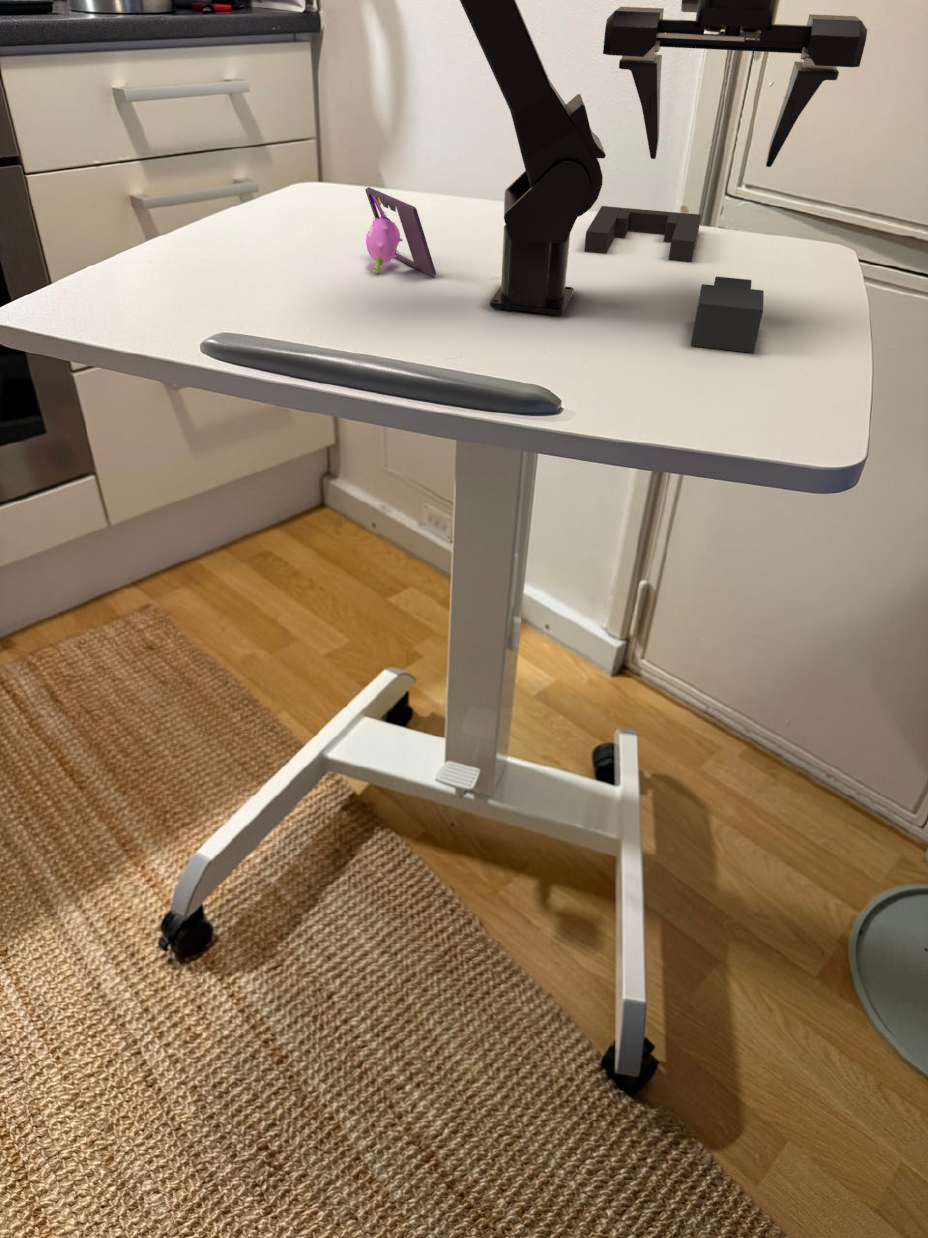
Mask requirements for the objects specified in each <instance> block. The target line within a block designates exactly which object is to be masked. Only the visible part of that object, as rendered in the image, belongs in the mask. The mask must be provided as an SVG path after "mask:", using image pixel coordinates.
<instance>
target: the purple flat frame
mask: <svg viewBox="0 0 928 1238" xmlns="http://www.w3.org/2000/svg"><path fill="white" fill-rule="evenodd" d="M364 190H365V194H366V197H367V199H368V203H369V205H370V208H371V211H372V215H373V218H371V219H372V224H371V226H370V227H369V228H368V230H367V233H366V237H365V246H366V250H367V253H368V254H369V256H370V258H371V259H373V260H374V261H376V262H375V265H374V266H373V268H374V270H373V272H374V273H375V274H379V272H380V270H381V267H382V265H383V264H387V263H389V262H390V261H392V260H393V259H397V260H399V261H401V262H403V263H405V264H406V265H408V266H411V267H412V268H414V269H416V270H418V271H420V272H421V273H424V274H426V275H428V276H430V277H432V278H434V277H436V276H437V271H436V268H435V265H434V261H433V257H432V255H431V252H430V248H429V245H428V242H427V238H426V236H425V232H424V229H423V226H422V222H421V219H420V215H419V212H418V210H417V208H416V207H415V206H413V205H411V204H409V203H407V202H404V201H403V200H400V199H397V198H395V197H393V196H391V195H388V194H386V193H384V192H381V191H380V190H377V189H374V188H372V187H370V186H368V187H367V188H365V189H364ZM381 205H382V206H381ZM383 208H386V209H390V211H392V212H397V214H398V217H399V221H400V223H401V227H402V230H403V233H404V236H405V239H406V242H407V246H408V248H409V251H410V254H411V258H412V260H411V259H409V258H407V257H405V256H403V255H401V254H400V253H399V251H398V250H397V249H398V246H399V243H401V242H404V240H403V239H402V238H401V232H400V229H399V228H398V225H396V223H395V222H393V221H392V220H391V219H390V218H389V217H388V216H387V214H386V212H385V210H383Z"/></svg>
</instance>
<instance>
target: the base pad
mask: <svg viewBox="0 0 928 1238" xmlns="http://www.w3.org/2000/svg"><path fill="white" fill-rule="evenodd" d="M701 219H702V214H699V213H687V212H675V211H665V210H654V209H653V210H652V209H640V208H630V207H619V206H608V205H601V206H600V208H599V209H598V211H597V213H596V214H595V216H594V218H593V220H592V221H591V223H590V225H589V226H588V228H587V230H586V231H585V238H584V239H585V241H584V249H583V250H584V252H590V253H599V254H607V253H608V250H609V248H610V246H611V244H612V242H613V240H614V238H619V239H620V238H621V239H625V238H626V235H627V234H628V232H635V233H637V232H639V233H648V234H658V235H663V242H664V243H670V248H669V255H668V260H670V261H679V262H692V260H693V256H694V252H695V249H696V245H697V244H696V243H697V239H698V235H699V231H700V225H701Z"/></svg>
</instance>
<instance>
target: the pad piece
mask: <svg viewBox="0 0 928 1238" xmlns="http://www.w3.org/2000/svg"><path fill="white" fill-rule="evenodd" d="M714 277H715V278H714V283H713V284H707V283H706V284H705V283H702V284H701V286H700V292H699V296H698V302H697V306H696V307H697V308H696V313H695V319H694V324H693V330H692V334H691V340H690V347H698V348H707V349H715V350H722V351H723V350H724V351H732V352H740V353H741V352H742V353H751V354H753V353H755V348H756V344H757V340H758V336H759V331H760V326H761V322H762V317H763V313H764V294H765V293H764V290H762V289H754V288H752V279H747V278H735V277H726V276H714Z"/></svg>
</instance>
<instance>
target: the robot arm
mask: <svg viewBox="0 0 928 1238" xmlns="http://www.w3.org/2000/svg"><path fill="white" fill-rule="evenodd" d="M459 2H460V4H461V6H462V9H463V10H464V11H463V12H464V13H465V15H466V17H467V19H468V21H469V24H470V26H471V28H472V30H473V32H474V35H475V37H476V39H477V42H478V44H479V46H480V48H481V50H482V53H483V55H484V57H485V59H486V61H487V63H488V66H489V68H490V70H491V72H492V74H493V77H494V78H495V80H496V83H497V86H498V88H499V89H500V92H501V94H502V96H503V98H504V100H505V103H506V105H507V107H508V109H509V112H510V115H511V119H512V122H513V127H514V130H515V134H516V138H517V143H518V146H519V150H520V155H521V158H522V161H523V162H522V163H523V166H524V171H523V172H522V174H520V175H519V176H518V177H517V178H516V179H515V180H514V181H513V182H511V184H510V185H509V186H507V188H506V189H505V190H504V199H503V200H504V202H503V221H504V226H503V236H502V237H503V238H502V259H501V279H500V281H501V282H500V283H501V284H500V287H499V288H498V289H497V291H496V292H495V293H494V294H493V296H492V297H491V298H490V299H489V307H490V308H495V309H503V310H504V309H505V310H512V311H513V310H514V311H522V312H531V313H539V314H547V315H562V314H563V313H564V312H565V310H566V308H567V306H568V304H569V302H570V300H571V299H572V297H573V295H574V289H575V288H574V287H572V286H567V285H566V284H567V272H568V262H569V261H568V260H569V249H570V238H571V232H572V230H573V228H574V225H575V223H576V221H577V219H578V217H581V216H583V215H584V214H585V213H587V212H588V211H589V210H591V208H592V207H593V206H594V205H595V203H596V202H597V200H598V198H599V196H600V193H601V190H602V187H603V183H604V181H603V176H604V175H603V172H602V168H601V164H600V161H599V159H603V160H604V159H605V158H606V157H607V155H606V152H605V149H604V147H603V144H602V141H601V139H600V138H599V137H598V135H597V134H596V133H595V132H593V130H592V128H591V126H590V121H589V118H588V117H589V116H588V113H587V108H586V106H585V103H584V100H583V98H582V95H581V94H580V93H578V94H576V95H575V96H574V97H573V98H571V99H570V100H569V101H568V102H567V103H566V102H565V100H564V99H563V98H562V96H561V95H560V94H559V91H558V90H557V89H556V87H555V86H554V84H553V83H552V82H551V80H550V78H549V75H548V73H547V70H546V68H545V66H544V64H543V61H542V59H541V57H540V55H539V52H538V50H537V46H536V45H535V43H534V41H533V38H532V35H531V33H530V31H529V28H528V25H527V24H526V22H525V19H524V17H523V15H522V12H521V10H520V7H519V5H518V2H517V0H459ZM778 2H779V0H681V5H680V11H681V13H696V15H695V20H692V19H691V20H690V19H669V18H667V19H666V18H664V11H665V10H664V8H662V7H642V6H641V7H638V6H619V7H618V8H616V9H615V10H614V11H613V12H612V13H611V14H610V15H609V16H608V17H607V18H606V23H605V28H604V36H603V37H604V38H603V48H602V54H603V55H606V56H618V57H619V56H620V57H621V58H620V59H619V61H618V69H619V70H625V71H626V70H628V71H630V72H631V75H632V79H633V82H634V85H635V89H636V91H637V92H636V93H637V95H638V97H639V103H640V105H641V109H642V115H643V120H644V121H643V122H644V128H645V133H646V140H647V145H648V150H649V157H650V160H656V158H657V154H658V147H659V140H660V118H661V117H660V116H661V80H662V79H661V78H662V63H663V62H662V61H663V55H662V54H657V53H659V52H660V50H661V48H677V49H679V48H681V49H698V50H718V51H738V52H739V51H741V52H759V53H761V52H762V53H783V54H799V59H800V61H797V60H796V61H794V62H793V66H792V69H791V74H790V77H789V81H788V85H787V88H786V92H785V94H784V97H783V101H782V104H781V107H780V109H779V114H778V116H777V120H776V123H775V126H774V129H773V132H772V135H771V138H770V142H769V144H768V145H769V147H768V151H767V154H766V155H767V156H766V160H765V167H766V168H771V167H772V166H773V164H774V162H775V160H776V159H777V157H778V155H779V153H780V151H781V149H782V147H783V145H784V144H785V142H786V140H787V138H788V136H789V135H790V133H791V132H792V130H793V128H794V125H796V123H797V120H798V119H799V117H800V115H801V114H802V113H803V111H804V109H805V108H806V107H807V105H808V104H809V102H810V101H811V99H812V98H813V97H814V95H815V93H816V92H817V91H818V90H819V88H820V87H821V85H822V84H823V82H825V81H837V80H838V78H839V74H840V71H839V69H838V68H860V66H861V62H862V58H863V54H864V50H865V46H866V41H867V35H868V29H867V27H866V25H865V23H864V22H863V20H862V19H860V18H859V17H857V16H856V15H836V14H834V15H833V14H808V19H807V22H806V24H783V23H774V22H775V17H776V12H777V7H778ZM705 31H706V32H709V33H705ZM714 33H715V34H714Z"/></svg>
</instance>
